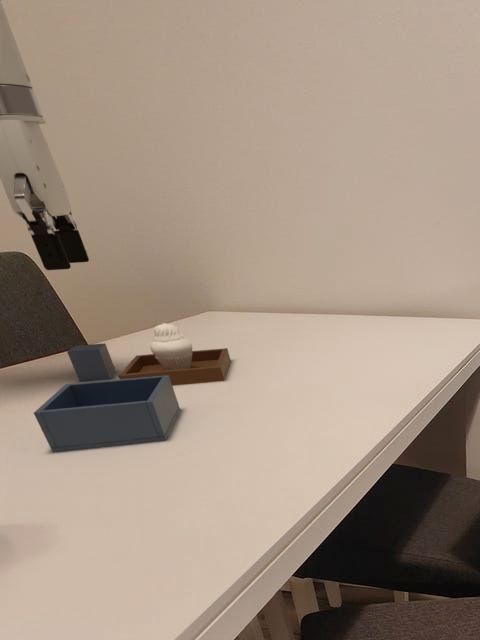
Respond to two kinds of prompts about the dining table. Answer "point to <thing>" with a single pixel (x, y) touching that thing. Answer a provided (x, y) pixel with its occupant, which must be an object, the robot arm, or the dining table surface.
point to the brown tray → (201, 369)
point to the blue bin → (109, 413)
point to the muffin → (171, 347)
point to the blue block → (92, 362)
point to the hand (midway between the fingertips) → (68, 265)
